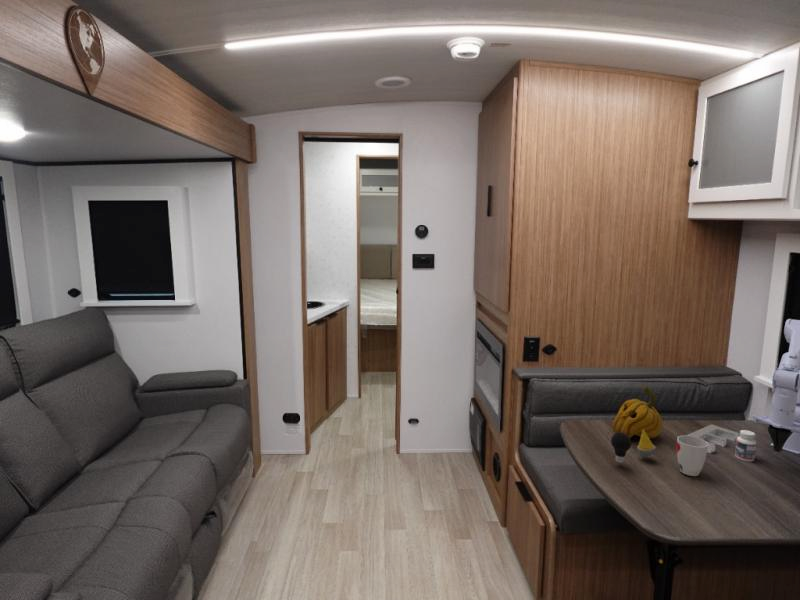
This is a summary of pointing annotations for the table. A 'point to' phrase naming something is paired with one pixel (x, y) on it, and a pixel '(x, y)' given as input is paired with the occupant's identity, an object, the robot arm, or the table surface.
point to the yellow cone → (645, 445)
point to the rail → (714, 436)
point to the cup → (691, 454)
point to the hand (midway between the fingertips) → (777, 450)
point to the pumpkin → (638, 417)
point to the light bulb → (620, 445)
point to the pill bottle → (745, 446)
